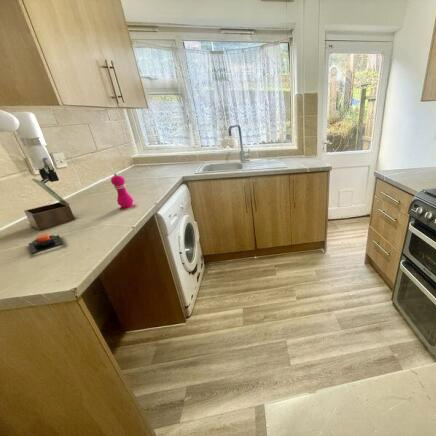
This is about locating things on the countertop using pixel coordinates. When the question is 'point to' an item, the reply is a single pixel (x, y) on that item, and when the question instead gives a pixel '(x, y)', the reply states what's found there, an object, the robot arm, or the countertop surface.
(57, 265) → the countertop surface
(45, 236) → the lock button
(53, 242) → the lock base
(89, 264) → the countertop surface
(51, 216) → the brown open box
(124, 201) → the pepper mill
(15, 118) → the robot arm
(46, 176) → the frame lid
